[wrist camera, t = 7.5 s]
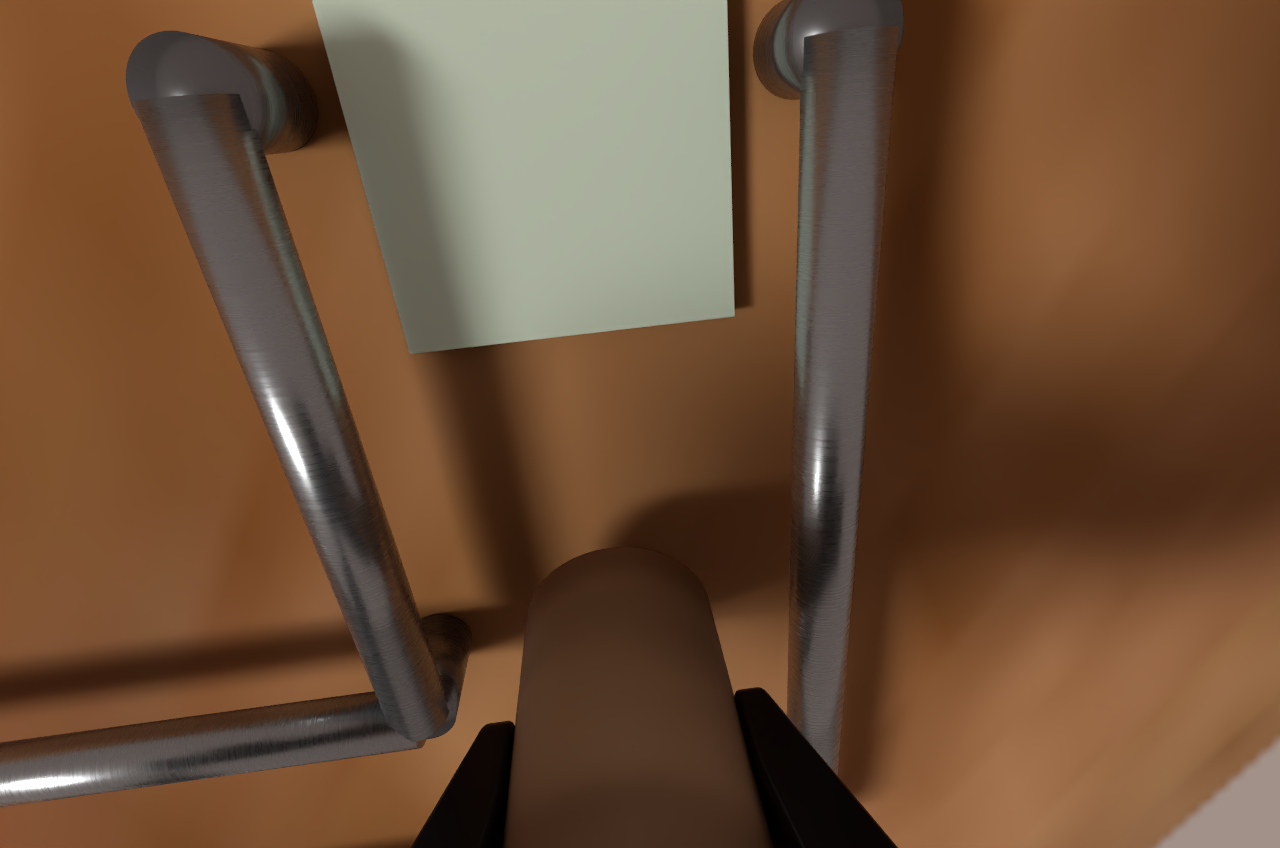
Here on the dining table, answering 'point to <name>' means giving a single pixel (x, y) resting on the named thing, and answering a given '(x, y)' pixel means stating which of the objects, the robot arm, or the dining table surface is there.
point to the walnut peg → (628, 715)
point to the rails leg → (315, 399)
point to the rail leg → (223, 738)
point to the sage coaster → (541, 161)
